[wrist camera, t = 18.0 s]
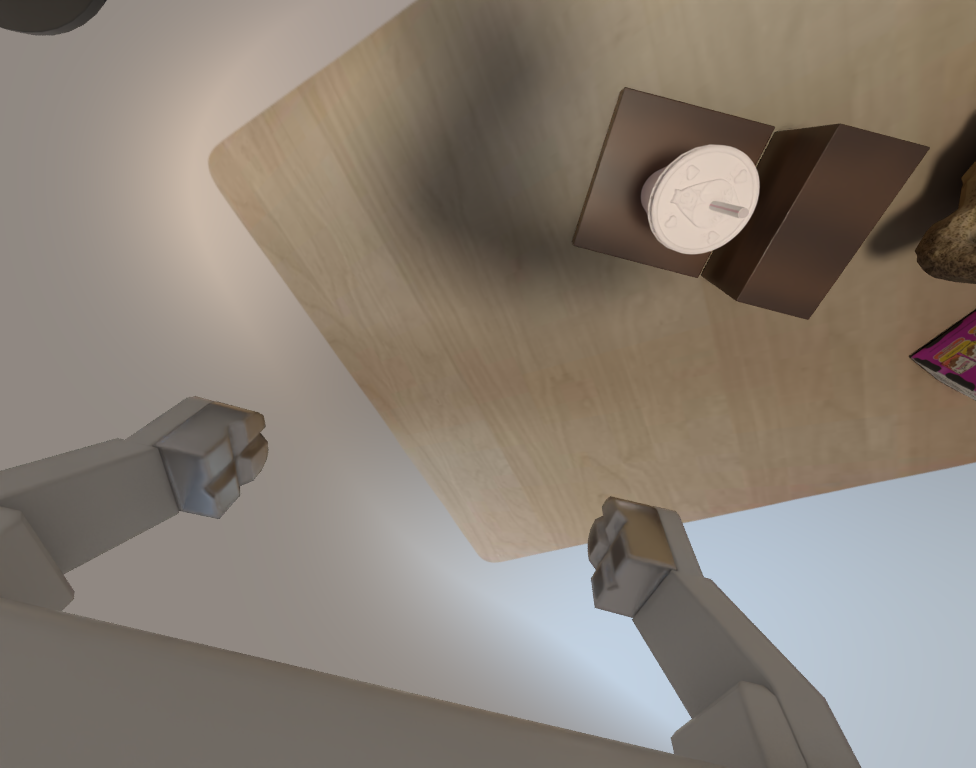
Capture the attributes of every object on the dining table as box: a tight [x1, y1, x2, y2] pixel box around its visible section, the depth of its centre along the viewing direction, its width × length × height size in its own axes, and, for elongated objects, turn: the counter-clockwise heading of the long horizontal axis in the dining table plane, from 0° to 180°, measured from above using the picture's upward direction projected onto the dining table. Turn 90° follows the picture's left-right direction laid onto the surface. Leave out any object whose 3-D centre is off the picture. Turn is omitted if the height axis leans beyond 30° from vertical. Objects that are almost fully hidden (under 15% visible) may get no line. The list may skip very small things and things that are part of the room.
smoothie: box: [641, 144, 760, 254], centre depth 27 cm, size 6×6×14 cm
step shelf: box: [572, 87, 930, 320], centre depth 31 cm, size 12×19×8 cm, turn 77°
